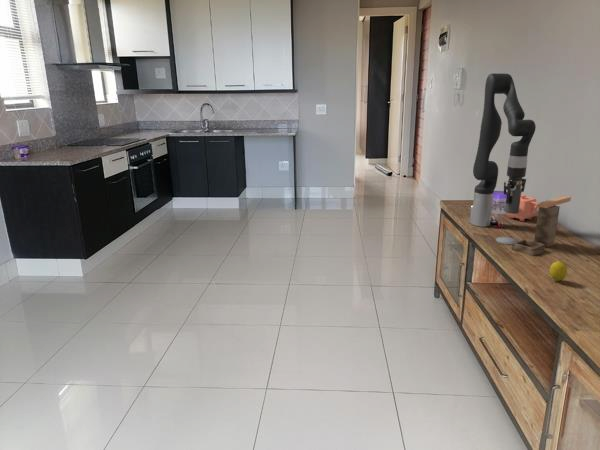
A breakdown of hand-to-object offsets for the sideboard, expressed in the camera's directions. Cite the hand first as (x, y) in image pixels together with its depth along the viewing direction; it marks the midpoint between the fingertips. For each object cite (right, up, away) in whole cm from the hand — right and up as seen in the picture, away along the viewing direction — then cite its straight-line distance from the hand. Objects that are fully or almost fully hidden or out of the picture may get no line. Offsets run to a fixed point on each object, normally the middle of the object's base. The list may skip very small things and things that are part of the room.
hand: (512, 202), depth 201 cm
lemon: (-2, -31, -38) cm, 49 cm away
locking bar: (+18, -1, -2) cm, 18 cm away
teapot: (+23, -7, +41) cm, 48 cm away
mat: (0, -18, +5) cm, 19 cm away
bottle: (0, -5, +1) cm, 5 cm away
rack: (+8, -20, -3) cm, 22 cm away
